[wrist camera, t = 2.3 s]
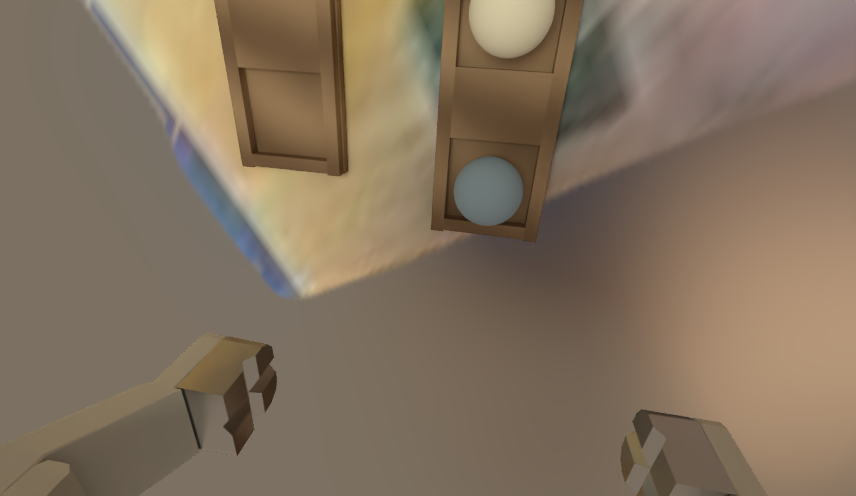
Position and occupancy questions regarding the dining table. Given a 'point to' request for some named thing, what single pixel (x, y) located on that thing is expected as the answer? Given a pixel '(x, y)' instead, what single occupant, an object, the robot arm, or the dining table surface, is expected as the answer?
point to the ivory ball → (510, 25)
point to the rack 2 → (500, 114)
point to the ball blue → (488, 191)
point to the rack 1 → (286, 82)
